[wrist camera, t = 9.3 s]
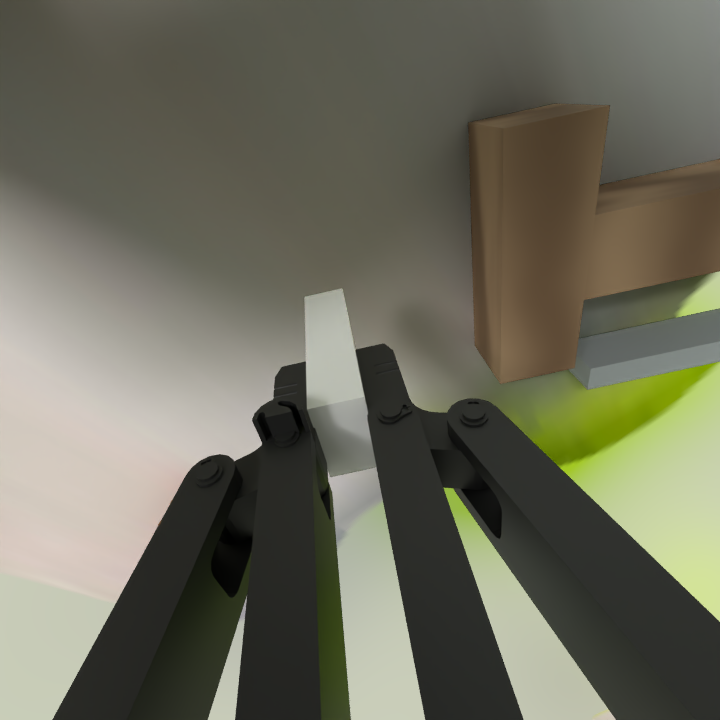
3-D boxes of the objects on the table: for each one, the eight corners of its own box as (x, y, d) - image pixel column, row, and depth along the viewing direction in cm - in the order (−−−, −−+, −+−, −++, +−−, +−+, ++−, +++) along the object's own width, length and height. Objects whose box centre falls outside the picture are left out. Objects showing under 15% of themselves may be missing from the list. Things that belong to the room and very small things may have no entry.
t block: (474, 345, 25) (500, 383, 22) (468, 122, 19) (503, 128, 15) (700, 297, 25) (760, 328, 22) (774, 56, 18) (877, 47, 15)
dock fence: (560, 361, 26) (587, 389, 24) (591, 85, 18) (636, 83, 16) (736, 323, 26) (782, 348, 24) (847, 29, 18) (934, 19, 16)
